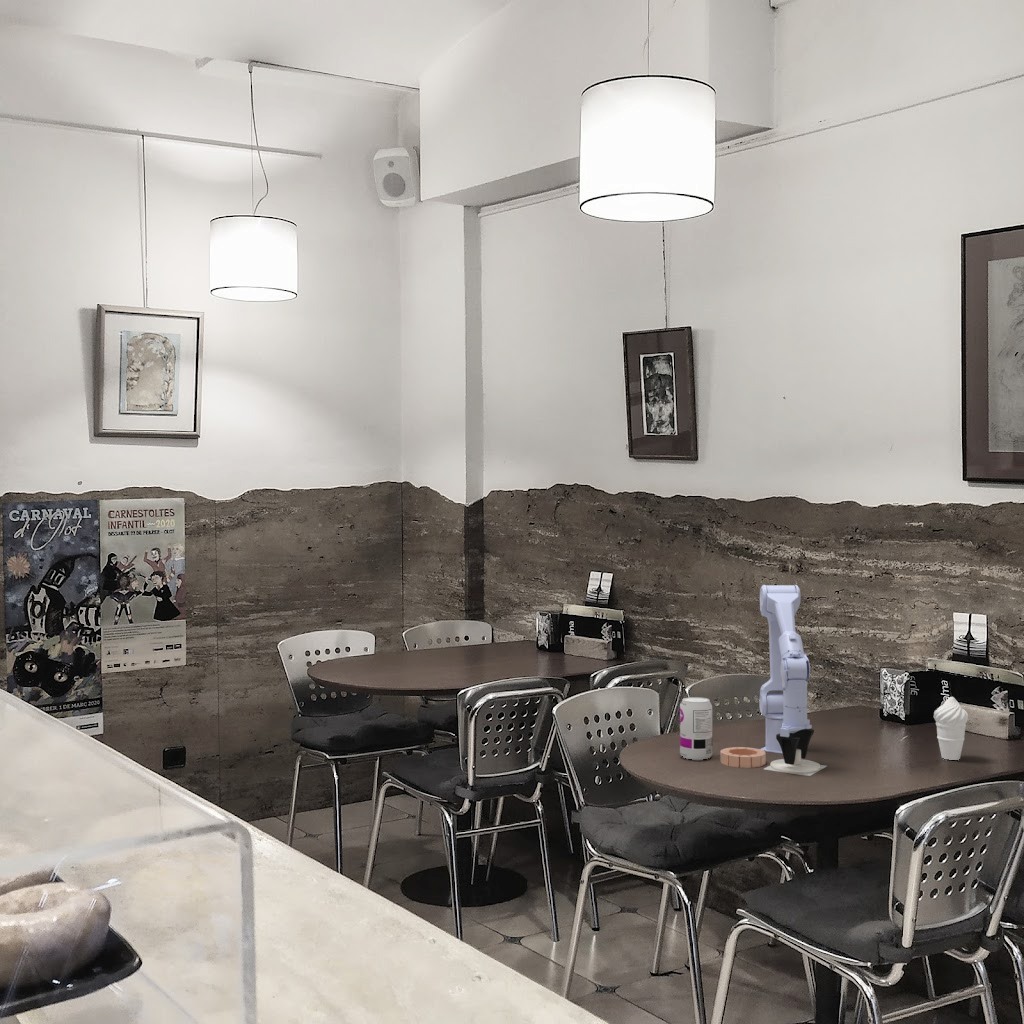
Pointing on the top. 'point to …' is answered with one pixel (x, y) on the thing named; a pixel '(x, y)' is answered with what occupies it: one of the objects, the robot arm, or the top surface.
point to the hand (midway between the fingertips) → (795, 760)
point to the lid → (796, 765)
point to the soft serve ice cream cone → (951, 728)
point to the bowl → (743, 757)
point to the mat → (797, 773)
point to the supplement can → (696, 728)
